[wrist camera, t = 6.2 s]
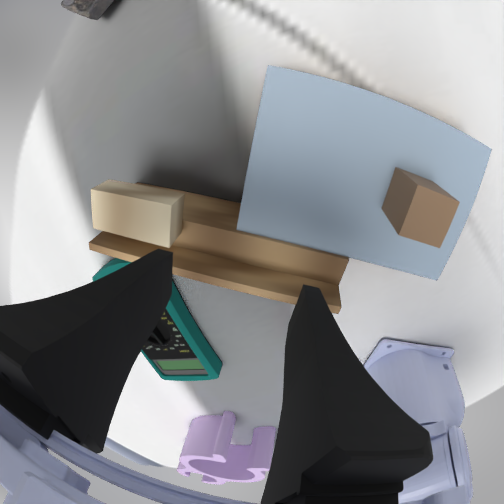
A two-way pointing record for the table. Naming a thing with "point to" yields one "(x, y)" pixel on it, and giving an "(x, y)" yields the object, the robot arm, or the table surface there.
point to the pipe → (87, 7)
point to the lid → (358, 174)
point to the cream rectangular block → (138, 211)
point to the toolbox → (235, 254)
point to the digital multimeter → (175, 340)
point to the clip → (225, 451)
